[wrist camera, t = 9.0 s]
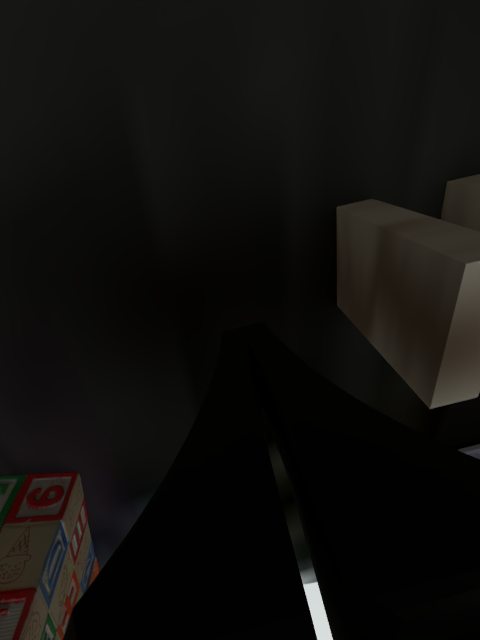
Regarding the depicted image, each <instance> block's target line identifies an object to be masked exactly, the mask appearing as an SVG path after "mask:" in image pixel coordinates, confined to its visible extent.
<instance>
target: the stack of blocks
mask: <svg viewBox="0 0 480 640" xmlns="http://www.w3.org/2000/svg"><path fill="white" fill-rule="evenodd" d="M98 574H99V568H98V562H97V557H96V556H95V552H94V548H93V543H92V540H91V535H90V530H89V526H88V516H87V511H86V506H85V501H84V494H83V489H82V484H81V479H80V474H79V473H78V472H70V473H48V474H29V475H16V476H0V640H63V637H64V635H65V632H66V629H67V626H68V623H69V619H70V616H71V613H72V610H73V608H74V606H75V605H76V603H77V602H78V601H79V599H80V598H81V597H82V595H83V594H84V593H85V591H86V590H87V589H88V587H89V586H90V585H91V583H92V582H93V581H94V579H95V578H96V576H97V575H98Z"/></svg>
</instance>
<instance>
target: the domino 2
mask: <svg viewBox="0 0 480 640" xmlns="http://www.w3.org/2000/svg"><path fill="white" fill-rule="evenodd" d="M440 220H443V221H446V222H449V223H453V224H456V225H459V226H462V227H466V228H469V229H472V230H475V231H478V232H480V174H478V175H473V176H469V177H465V178H460V179H456V180H452V181H447V186H446V192H445V197H444V202H443V208H442V213H441V219H440Z"/></svg>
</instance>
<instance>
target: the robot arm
mask: <svg viewBox="0 0 480 640" xmlns="http://www.w3.org/2000/svg"><path fill="white" fill-rule="evenodd" d="M261 404H262V407H263V410H264V413H265V415H266V418H267V421H268V423H269V426H270V429H271V431H272V434H273V437H274V439H275V442H276V445H277V447H278V450H279V453H280V455H281V458H282V461H283V463H284V466H285V469H286V472H287V475H288V478H289V481H290V484H291V488H292V492H293V495H294V499H295V502H296V506H297V509H298V513H299V517H300V520H301V524H302V527H303V531H304V535H305V538H306V542H307V545H308V549H309V553H310V556H311V560H312V564H313V567H314V571H315V574H316V578H317V582H318V585H319V589H320V593H321V596H322V600H323V604H324V607H325V611H326V615H327V619H328V622H329V626H330V629H331V633H332V637H333V640H480V444H477V445H473V446H469V447H465V448H461V449H457V450H456V449H454V448H452V447H450V446H447V445H445V444H443V443H441V442H439V441H436V440H434V439H432V438H430V437H428V436H425V435H423V434H421V433H419V432H417V431H415V430H413V429H411V428H409V427H408V426H406V425H404V424H402V423H400V422H398V421H396V420H394V419H392V418H390V417H388V416H386V415H384V414H382V413H381V412H379V411H377V410H375V409H373V408H372V407H370V406H368V405H367V404H365V403H363V402H362V401H360V400H358V399H356V398H355V397H353V396H352V395H350V394H349V393H347V392H345V391H344V390H342V389H341V388H339V387H338V386H336V385H335V384H333V383H332V382H331V381H329V380H328V379H326V378H325V377H324V376H322V375H321V374H320V373H318V372H317V371H316V370H314V369H313V368H312V367H310V366H309V365H308V364H307V363H305V362H304V361H303V360H302V359H301V358H299V357H298V356H297V355H296V354H295V353H294V352H292V351H291V350H290V349H289V348H288V347H287V346H286V345H285V344H284V343H283V342H282V341H281V340H280V339H279V338H278V337H277V336H276V335H275V334H274V333H273V332H272V331H271V330H270V329H269V328H268V327H267V325H266V324H264V323H257V324H253V325H249V326H245V327H241V328H236V329H232V330H228V331H224V332H223V334H222V335H221V345H220V350H219V355H218V359H217V363H216V366H215V369H214V373H213V376H212V379H211V382H210V385H209V388H208V390H207V393H206V396H205V398H204V401H203V404H202V406H201V408H200V411H199V413H198V415H197V417H196V420H195V422H194V424H193V426H192V428H191V430H190V432H189V434H188V436H187V438H186V440H185V442H184V444H183V446H182V448H181V449H180V451H179V453H178V455H177V457H176V459H175V460H174V462H173V464H172V466H171V467H170V469H169V471H168V473H167V474H166V476H165V478H164V479H163V481H162V482H161V484H160V486H159V487H158V489H157V490H156V492H155V493H154V495H153V496H152V498H151V499H150V501H149V503H148V504H147V506H146V507H145V509H144V510H143V512H142V513H141V515H140V516H139V518H138V519H137V521H136V523H135V524H134V525H133V527H132V528H131V530H130V531H129V533H128V534H127V536H126V537H125V538H124V540H123V541H122V543H121V544H120V545H119V547H118V548H117V549H116V551H115V552H114V553H113V555H112V556H111V557H110V559H109V560H108V562H107V563H106V564H105V566H104V567H103V568H102V570H101V571H100V572H99V574H98V575H97V576H96V578H95V579H94V581H93V582H92V583H91V585H90V586H89V587H88V589H87V590H86V591H85V593H84V594H83V595H82V597H81V598H80V599H79V601H78V602H77V603H76V605H75V606H74V608H73V610H72V613H71V616H70V619H69V623H68V626H67V629H66V632H65V635H64V637H63V640H317V637H316V633H315V629H314V625H313V621H312V618H311V614H310V610H309V606H308V602H307V598H306V595H305V591H304V587H303V583H302V579H301V576H300V572H299V568H298V564H297V560H296V557H295V553H294V549H293V545H292V541H291V537H290V534H289V530H288V526H287V522H286V518H285V515H284V511H283V507H282V503H281V499H280V495H279V492H278V488H277V484H276V480H275V476H274V472H273V468H272V465H271V461H270V457H269V452H268V445H267V439H266V433H265V426H264V420H263V414H262V407H261Z"/></svg>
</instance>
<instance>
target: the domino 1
mask: <svg viewBox="0 0 480 640" xmlns="http://www.w3.org/2000/svg"><path fill="white" fill-rule="evenodd" d="M337 306H338V307H339V308H340V309H341V310H342V312H343V313H344V314H345V315H346V316H347V317H348V318H349V319H350V320H351V322H352V323H353V324H354V325H355V326H356V327H357V328H358V329H359V331H360V332H361V333H362V334H363V335H364V336H365V337H366V338H367V339H368V341H369V342H370V343H371V344H372V345H373V346H374V347H375V348H376V349H377V351H378V352H379V353H380V354H381V355H382V356H383V357H384V358H385V359H386V361H387V362H388V363H389V364H390V365H391V366H392V367H393V368H394V370H395V371H396V372H397V373H398V374H399V375H400V376H401V377H402V378H403V380H404V381H405V382H406V383H407V384H408V385H409V386H410V387H411V388H412V390H413V391H414V392H415V393H416V394H417V395H418V396H419V397H420V398H421V400H422V401H423V402H424V403H425V404H426V405H427V406H428V407H429V408H430V409H432V408H436V407H440V406H444V405H448V404H452V403H456V402H460V401H464V400H468V399H472V398H476V397H478V395H479V392H480V232H478V231H475V230H472V229H469V228H466V227H462V226H459V225H456V224H453V223H449V222H446V221H443V220H440V219H436V218H433V217H430V216H427V215H423V214H420V213H417V212H414V211H410V210H407V209H404V208H401V207H398V206H394V205H391V204H388V203H385V202H381V201H378V200H375V199H369V200H364V201H360V202H356V203H351V204H347V205H343V206H338V207H337Z"/></svg>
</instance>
